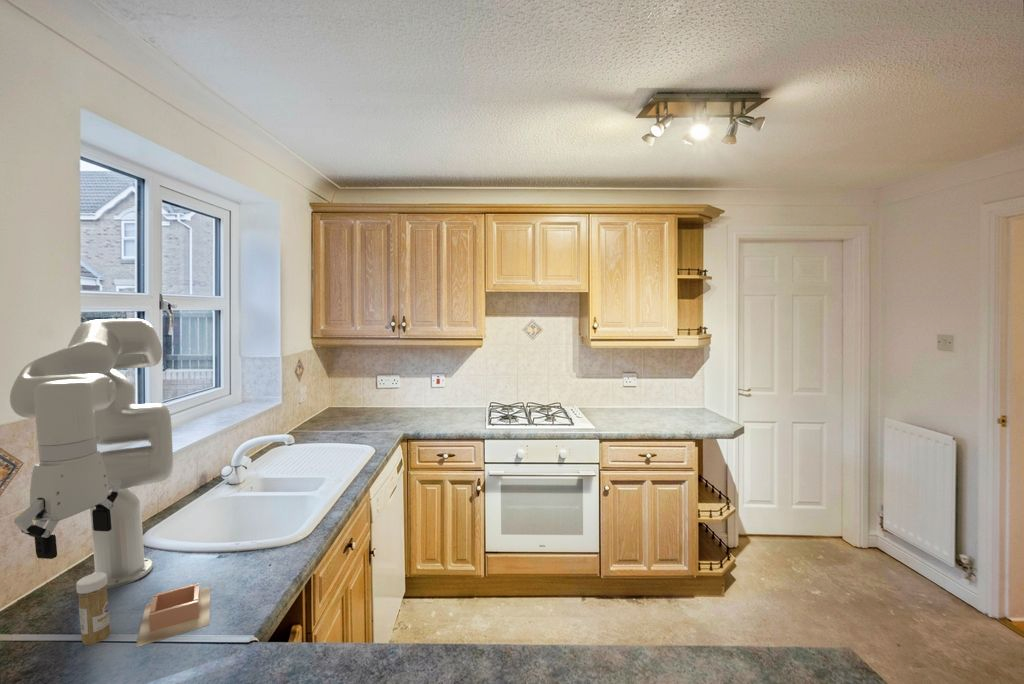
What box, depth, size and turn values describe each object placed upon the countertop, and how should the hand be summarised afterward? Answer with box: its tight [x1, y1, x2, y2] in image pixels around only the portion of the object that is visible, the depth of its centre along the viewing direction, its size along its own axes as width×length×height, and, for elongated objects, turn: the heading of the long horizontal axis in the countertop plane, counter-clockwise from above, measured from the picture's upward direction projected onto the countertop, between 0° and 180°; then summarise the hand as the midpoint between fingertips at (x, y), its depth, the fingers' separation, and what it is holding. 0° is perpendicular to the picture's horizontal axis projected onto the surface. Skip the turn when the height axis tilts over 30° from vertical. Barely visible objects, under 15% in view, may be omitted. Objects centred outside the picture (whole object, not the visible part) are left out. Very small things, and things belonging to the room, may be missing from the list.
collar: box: [149, 582, 201, 632], centre depth 101 cm, size 8×8×4 cm
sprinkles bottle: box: [75, 572, 111, 646], centre depth 94 cm, size 5×5×13 cm
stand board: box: [135, 586, 211, 648], centre depth 101 cm, size 16×12×1 cm
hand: (76, 543), depth 85 cm, fingers open, 9 cm apart
